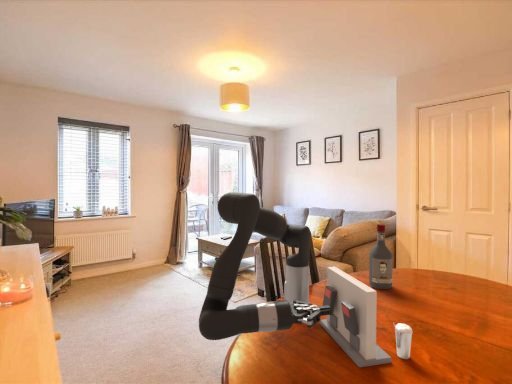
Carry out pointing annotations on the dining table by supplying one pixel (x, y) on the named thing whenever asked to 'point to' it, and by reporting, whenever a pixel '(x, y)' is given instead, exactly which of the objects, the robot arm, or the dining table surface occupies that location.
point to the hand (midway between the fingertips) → (330, 309)
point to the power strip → (364, 302)
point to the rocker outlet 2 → (350, 318)
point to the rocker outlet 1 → (329, 297)
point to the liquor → (380, 262)
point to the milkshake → (403, 340)
